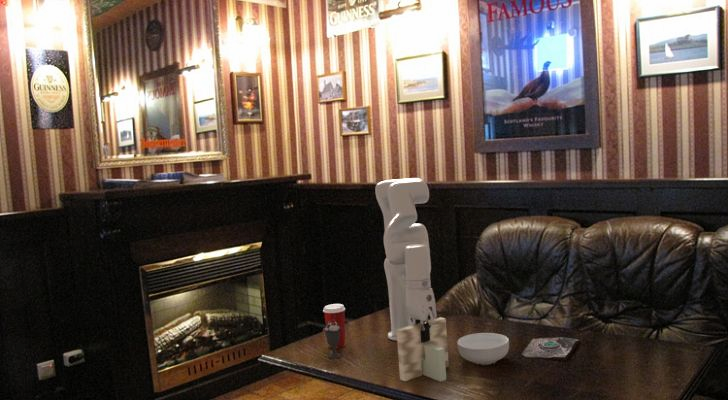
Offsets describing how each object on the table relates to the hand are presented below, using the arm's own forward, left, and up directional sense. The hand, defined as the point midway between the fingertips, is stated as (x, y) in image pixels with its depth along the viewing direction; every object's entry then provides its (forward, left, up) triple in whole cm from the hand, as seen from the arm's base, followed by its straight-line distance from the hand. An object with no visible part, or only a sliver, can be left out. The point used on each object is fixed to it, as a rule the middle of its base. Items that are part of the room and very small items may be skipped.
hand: (422, 339), depth 208 cm
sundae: (+12, -36, -11) cm, 39 cm away
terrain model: (-44, +13, -12) cm, 48 cm away
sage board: (0, 0, -11) cm, 11 cm away
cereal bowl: (-21, +5, -11) cm, 24 cm away
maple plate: (0, 0, -11) cm, 11 cm away
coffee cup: (+5, -46, -11) cm, 48 cm away
